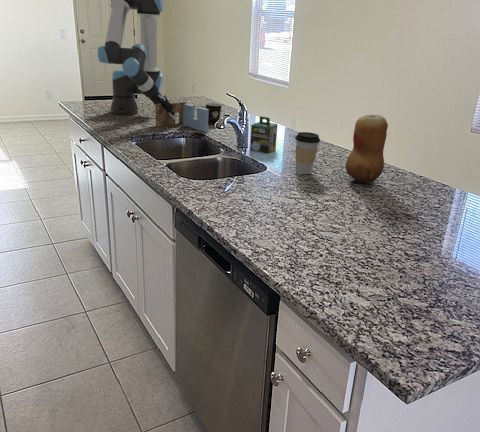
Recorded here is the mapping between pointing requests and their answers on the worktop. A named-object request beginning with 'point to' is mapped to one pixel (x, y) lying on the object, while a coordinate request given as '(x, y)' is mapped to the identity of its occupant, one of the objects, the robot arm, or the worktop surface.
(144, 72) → the robot arm
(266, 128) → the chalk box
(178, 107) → the walnut board
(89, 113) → the worktop surface
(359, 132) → the butternut squash
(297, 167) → the coffee cup
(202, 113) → the slate-blue board
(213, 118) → the coffee mug
